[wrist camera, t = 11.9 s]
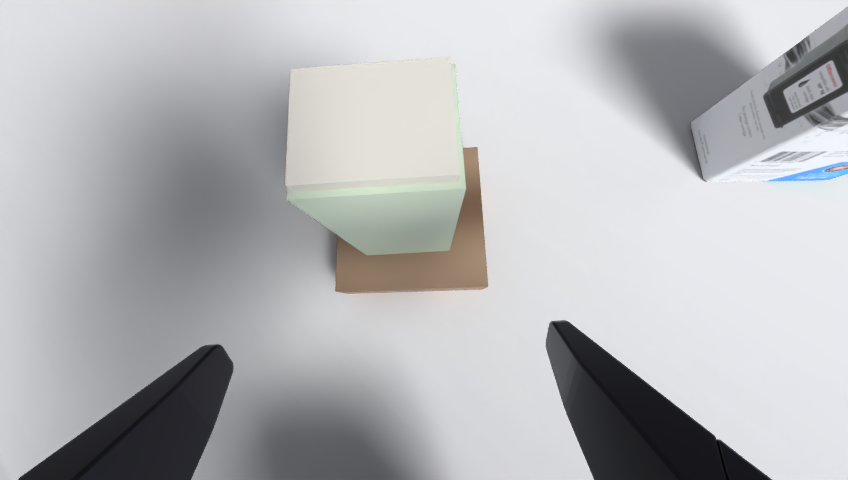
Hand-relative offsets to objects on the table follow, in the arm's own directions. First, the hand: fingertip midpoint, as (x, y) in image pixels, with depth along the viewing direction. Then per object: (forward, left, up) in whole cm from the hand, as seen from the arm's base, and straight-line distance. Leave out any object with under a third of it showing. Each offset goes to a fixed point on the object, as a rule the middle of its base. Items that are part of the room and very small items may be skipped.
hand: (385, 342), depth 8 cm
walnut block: (+6, -3, -12) cm, 14 cm away
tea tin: (+6, -3, -9) cm, 11 cm away
